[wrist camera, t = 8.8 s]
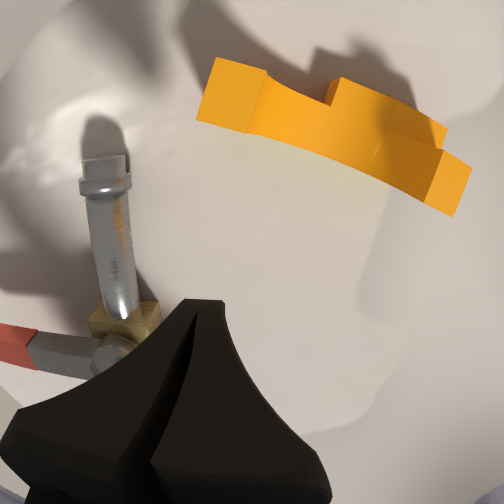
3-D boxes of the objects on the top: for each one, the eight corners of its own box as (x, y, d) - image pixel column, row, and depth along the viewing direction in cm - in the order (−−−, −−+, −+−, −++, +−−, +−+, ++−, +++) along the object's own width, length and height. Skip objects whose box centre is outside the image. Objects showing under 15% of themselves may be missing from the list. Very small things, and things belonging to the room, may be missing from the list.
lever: (137, 336, 19) (128, 356, 17) (147, 371, 20) (140, 392, 18) (-5, 318, 19) (-18, 332, 17) (9, 348, 20) (-2, 363, 18)
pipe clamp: (420, 125, 17) (483, 135, 11) (398, 185, 18) (452, 217, 13) (237, 50, 15) (231, 17, 9) (214, 119, 17) (195, 119, 11)
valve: (172, 383, 25) (165, 411, 22) (125, 377, 25) (115, 403, 22) (147, 152, 18) (127, 159, 15) (84, 156, 17) (58, 164, 15)
